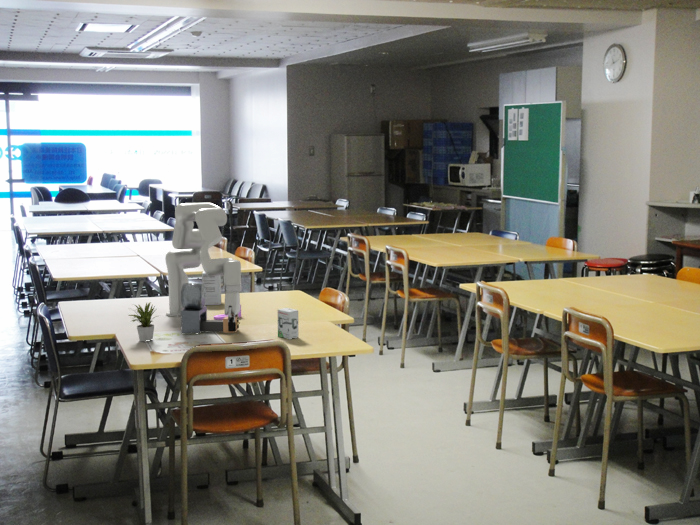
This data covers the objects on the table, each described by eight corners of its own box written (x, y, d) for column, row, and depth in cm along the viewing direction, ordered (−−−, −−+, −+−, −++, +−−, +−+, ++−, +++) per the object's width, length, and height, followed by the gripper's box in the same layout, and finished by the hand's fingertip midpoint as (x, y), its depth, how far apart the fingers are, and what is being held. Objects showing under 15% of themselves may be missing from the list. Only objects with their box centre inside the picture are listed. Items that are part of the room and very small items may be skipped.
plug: (188, 329, 344) (188, 316, 344) (240, 330, 342) (240, 316, 342) (185, 331, 339) (184, 318, 339) (238, 332, 337) (237, 319, 337)
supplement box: (204, 302, 414) (203, 270, 412) (221, 301, 415) (220, 270, 413) (202, 305, 404) (201, 273, 402) (220, 304, 405) (219, 272, 403)
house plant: (131, 336, 331) (130, 298, 329) (165, 335, 332) (163, 297, 330) (124, 344, 317) (122, 304, 315) (159, 343, 318) (157, 303, 316)
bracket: (234, 315, 378) (234, 301, 377) (241, 316, 374) (240, 302, 373) (211, 318, 369) (211, 304, 368) (217, 320, 365) (217, 305, 364)
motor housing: (189, 327, 348) (188, 281, 345) (207, 328, 347) (205, 281, 345) (181, 333, 336) (179, 285, 333) (199, 333, 335) (198, 285, 333)
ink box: (277, 336, 330) (276, 308, 328) (286, 334, 333) (285, 307, 331) (290, 339, 323) (289, 311, 322) (299, 337, 327) (298, 310, 325)
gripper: (228, 285, 346) (229, 325, 349) (219, 291, 330) (220, 333, 332) (245, 285, 346) (246, 325, 348) (236, 291, 329) (237, 334, 331)
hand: (233, 329), depth 340 cm, fingers closed on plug, 4 cm apart
